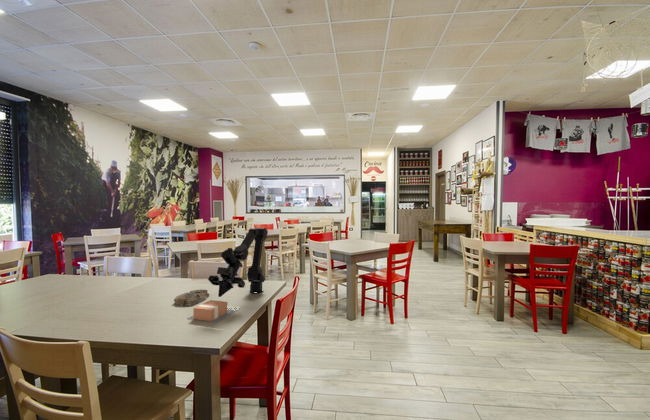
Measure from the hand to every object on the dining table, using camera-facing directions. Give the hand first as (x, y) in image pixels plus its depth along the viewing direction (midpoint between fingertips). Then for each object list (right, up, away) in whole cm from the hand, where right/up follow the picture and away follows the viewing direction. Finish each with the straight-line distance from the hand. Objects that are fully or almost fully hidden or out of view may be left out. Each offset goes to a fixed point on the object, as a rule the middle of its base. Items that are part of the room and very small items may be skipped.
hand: (219, 296), depth 141 cm
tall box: (0, -5, 0) cm, 5 cm away
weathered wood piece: (-21, -8, +19) cm, 29 cm away
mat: (-1, -8, -2) cm, 8 cm away
